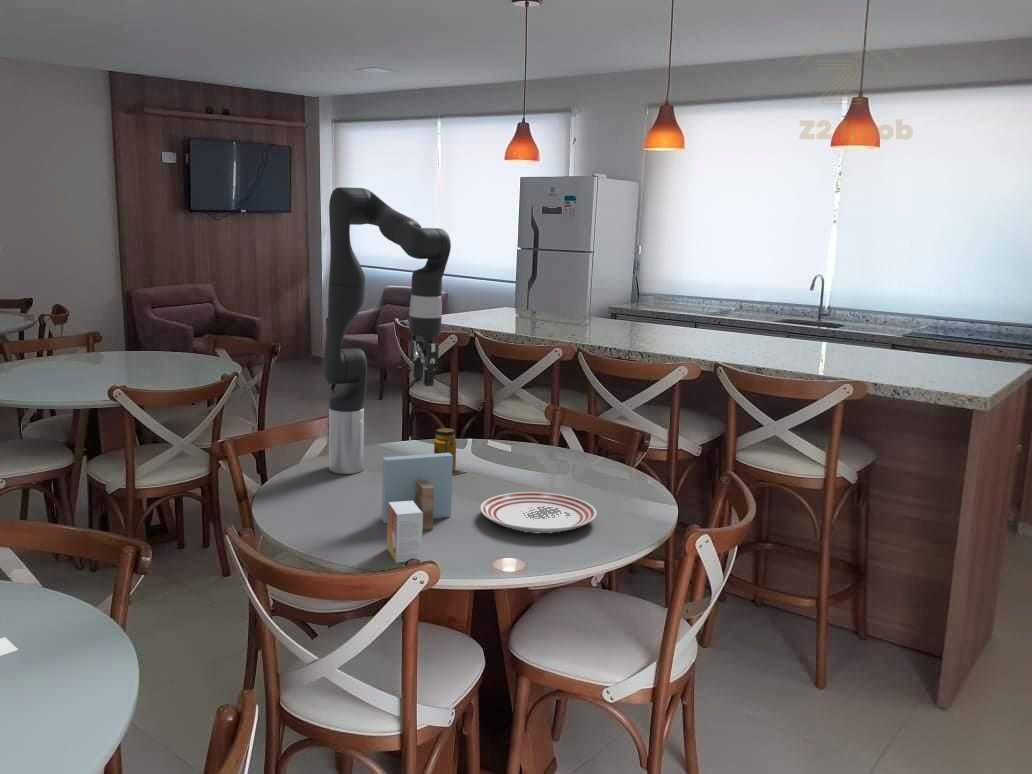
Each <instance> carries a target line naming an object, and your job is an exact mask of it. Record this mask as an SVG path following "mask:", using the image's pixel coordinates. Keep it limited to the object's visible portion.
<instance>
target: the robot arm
mask: <svg viewBox="0 0 1032 774" xmlns="http://www.w3.org/2000/svg"><path fill="white" fill-rule="evenodd" d="M328 212H329V213H328V214H329V215H328V217H329V237H330V238H329V239H330V244H329V245H330V247H329V248H330V253H329V255H330V256H329V257H330V258H329V272H328V273H329V276H328V289H327V290H328V295H327V297H328V299H327V300H328V301H327V303H328V305H327V325H326V334H325V335H326V336H325V343H324V350H323V359H322V360H323V361H322V371H323V372H322V373H323V377H324V380H325V381H326V383H328V384H329V385H344V384H345V385H346V384H347V385H346V387H345V388H344V389H343V390H341V391H340V392H337V393H336V394H334V395H331V397H329V401H328V407H329V408H328V411H329V412H328V420H329V422H328V426H329V427H328V429H329V430H328V431H329V432H328V470H329V471H330V472H331V471H332V472H331V473H334V474H341V475H348V474H349V475H351V474H357V473H360V472H362V471H364V449H365V448H364V445H365V443H364V442H365V441H364V439H365V438H364V437H365V436H364V435H365V430H364V429H365V400H366V394H367V393H366V392H367V378H368V377H367V376H368V361H367V357H366V354H365V351H364V350H362V349H361V348H343V343H344V339H345V335H346V333H347V331H348V329H349V327H350V326H351V325H352V323H353V321H354V320H355V319H356V317H357V315H358V314H359V312H360V310H361V309H362V307H363V304H364V302H365V294H366V293H365V292H366V275H365V273H364V270H363V268H362V266H361V263H360V261H359V260H358V258H357V256H356V254H355V252H354V251H353V247H352V244H351V236H350V235H351V234H350V233H351V231H350V230H351V229H350V228H351V226H352V225H354V226H358V225H359V226H361V225H362V226H363V225H372V226H376V227H378V230H379V232H380V233H381V234H382V236H383V237H384V238H386V239H387V240H388V241H390V242H391V243H393V244H396V245H398V246H399V247H400V248H401V249H402V250H403V251H404V253H406V254H407V255H408V256H409V257H411V258H413V259H417V260H426V262H425V265H424V266H423V267H421V268H418V269H415V270H414V271H413V272H412V275H411V294H410V300H409V315H408V317H409V320H408V321H409V323H408V332H409V334H410V335H411V340H410V342H411V343H410V358H411V359H412V360H411V361H412V363H413V372H412V373H413V375H412V376H413V378H414V379H423V385H424V386H425V387H433V386H434V381H435V370H438V369H439V348H440V347H439V343H437V342H435V343H434V340H435V339H434V337H437V336H440V335H441V334H442V315H443V313H442V312H443V301H442V290H443V289H442V288H443V277H444V274H445V271H446V267H447V263H448V260H449V259H450V258H449V257H450V253H451V249H452V243H451V239H450V236H449V233H448V232H447V231H446V230H445V229H443V228H437V227H436V228H435V227H434V228H433V227H422V225H421V224H420V223H419V222H418V221H417V220H415V219H414V218H411V217H410V216H407V215H405V214H403V213H401V212H399V211H397V210H395V209H394V208H392V207H391V206H390V205H388V204H387V203H386V202H384V200H382V199H381V198H380V197H378V196H377V194H375V193H374V192H372V191H371V190H369V189H367V188H364V187H344V186H342V187H341V186H340V187H335V188H334V189H333V191H332V192H331V194H330V197H329V205H328Z"/></svg>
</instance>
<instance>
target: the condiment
mask: <svg viewBox="0 0 1032 774" xmlns="http://www.w3.org/2000/svg"><path fill="white" fill-rule="evenodd" d="M437 453H450V454H452V455H453V466H452V476H455V475H459V474H463V473H467V472H468V471H467V470H464V469H460V468H457V466H456V464H457V440H456V431H455V430H454V429H453V428H447V427H446V428H445V427H444V428H443V427H441V428H438V429H436V430H435V438H434V441H433V454H437Z"/></svg>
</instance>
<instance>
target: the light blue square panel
mask: <svg viewBox="0 0 1032 774" xmlns="http://www.w3.org/2000/svg"><path fill="white" fill-rule="evenodd" d="M452 466H453V455H452V454H450V453H437V454H434V453H426V454H425V453H424V454H413V455H398V456H383V457H382V476H381V477H382V479H381V480H382V483H381V485H382V489H381V521H382V522H383V523H384V524H387V523H388V502H399V501H409V500H415V494H416V481H421V480H427V481H428V482H429V483H430V484H431V485H432V486H433V487H434V501H433V520H434V519H441V518H442V517H444V518H451V517H452V494H453V491H452V490H453V475H452ZM450 516H451V517H450ZM442 519H443V518H442Z"/></svg>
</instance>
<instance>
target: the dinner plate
mask: <svg viewBox="0 0 1032 774" xmlns="http://www.w3.org/2000/svg"><path fill="white" fill-rule="evenodd" d="M543 506H545V507H544V508H547V507H553V508H551V509H555V508H559V509H558V510H560V511H561V513H562V514H560V512H558V513H557V514H559V515H556V513H555V514H553V515H555V518H552V517H554V516H551V515H552V514H548V512H547V514H548V516H549V517H550V518H548V517H545V516H546V515H544V516H543V517H545V519H542V518H540V519H535V518H539V517H535V518H531V519H530V517H528V515H527V514H528V513H529V514H530V513H531V512H535V511H539V509H537V507H543ZM531 507H532V508H531ZM529 508H530V509H529ZM479 509H480V512H481V513H482V514H483V516H484V517H485V518H487V519H488V520H490V521H492V522H493V523H495V524H497V525H499V526H503V527H506V528H508V529H511V528H512V529H511V530H514V529H516V530H515V531H517V530H521V531H527V532H540V533H548V534H551V533H550V532H558V533H561V531H563V532H566V531H571V530H574V529H577V528H581V527H583V526H585V525H588V524H589V523H591V522H592V521H593V520H595V518H596V516H597V510H596V508H595V507H594V506H593V505H592V504H591V503H588V502H587V501H585V500H582V499H579V498H576V497H573V496H570V495H569V496H568V495H564V494H560V493H559V494H558V493H555V492H554V493H552V492H540V491H520V492H509V493H504V494H499V495H496V496H493V497H490V498H488V499H486V500H484V501H483V502H482V503H481V504H480V508H479ZM533 509H535V510H533ZM540 509H543V508H540ZM530 510H533V511H530ZM547 510H550V509H547ZM521 511H522V512H521ZM529 511H530V512H529ZM544 511H545V510H544ZM556 511H557V510H556ZM526 512H527V513H526ZM551 512H553V511H551ZM564 512H567V513H570V514H569V515H571V516H565V515H567V514H565V513H564ZM523 513H525V514H523ZM536 513H537V512H536ZM536 513H533V514H536ZM539 513H540V512H539ZM524 515H526V516H524ZM530 515H532V514H530ZM541 515H543V514H541ZM534 516H538V515H534ZM558 516H559V517H558ZM526 517H528V518H526ZM531 517H532V516H531ZM567 517H568V518H567ZM546 518H547V519H546ZM533 519H534V520H533ZM521 531H520V532H521ZM527 532H526V533H527Z"/></svg>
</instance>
